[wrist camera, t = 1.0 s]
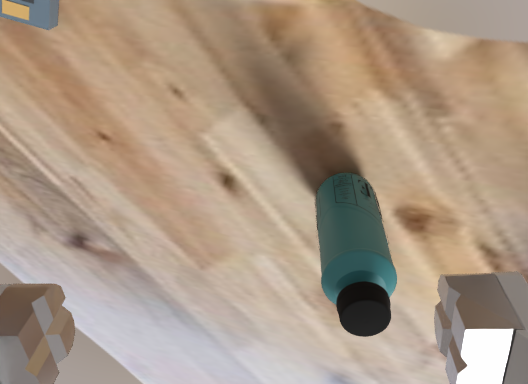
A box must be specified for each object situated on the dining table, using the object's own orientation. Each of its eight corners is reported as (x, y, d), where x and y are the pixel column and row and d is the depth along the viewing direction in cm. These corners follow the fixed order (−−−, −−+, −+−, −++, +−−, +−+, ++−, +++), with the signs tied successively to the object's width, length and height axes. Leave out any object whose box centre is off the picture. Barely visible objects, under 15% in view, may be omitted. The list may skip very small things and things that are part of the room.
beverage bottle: (303, 199, 56) (305, 333, 39) (334, 152, 53) (351, 274, 36) (353, 224, 57) (376, 363, 40) (386, 179, 54) (427, 309, 37)
